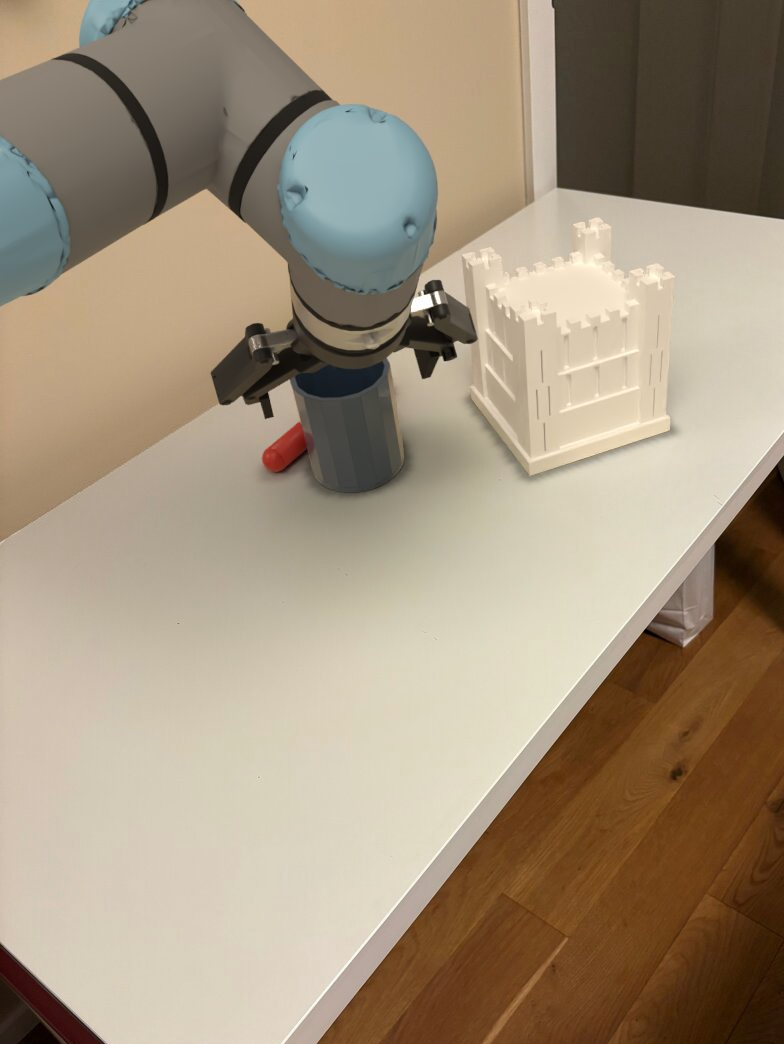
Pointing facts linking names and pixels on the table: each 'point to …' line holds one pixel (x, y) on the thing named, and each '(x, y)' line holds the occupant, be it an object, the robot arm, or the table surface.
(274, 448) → the spoon
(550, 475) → the table surface
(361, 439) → the mug
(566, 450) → the castle model
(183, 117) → the robot arm
